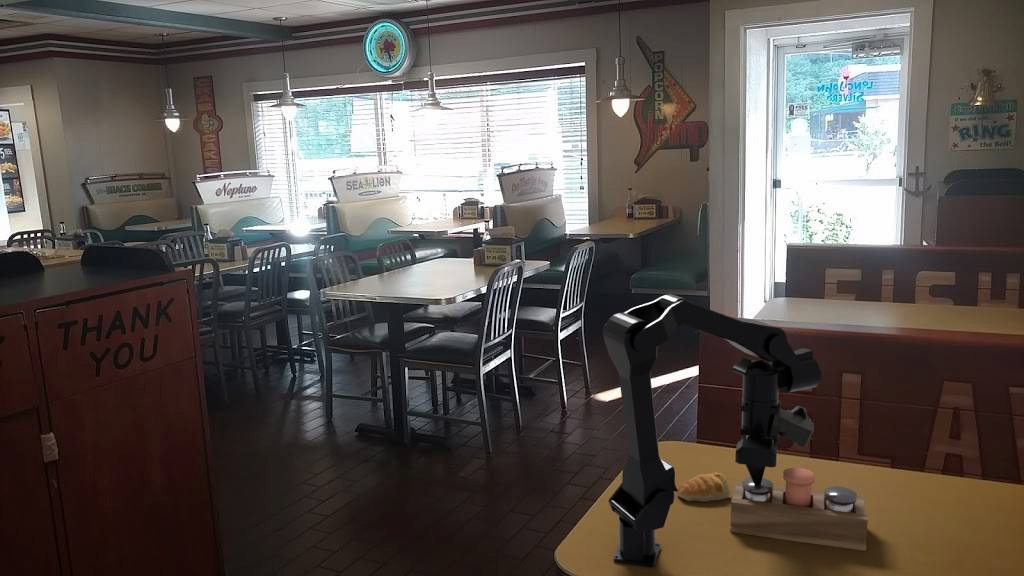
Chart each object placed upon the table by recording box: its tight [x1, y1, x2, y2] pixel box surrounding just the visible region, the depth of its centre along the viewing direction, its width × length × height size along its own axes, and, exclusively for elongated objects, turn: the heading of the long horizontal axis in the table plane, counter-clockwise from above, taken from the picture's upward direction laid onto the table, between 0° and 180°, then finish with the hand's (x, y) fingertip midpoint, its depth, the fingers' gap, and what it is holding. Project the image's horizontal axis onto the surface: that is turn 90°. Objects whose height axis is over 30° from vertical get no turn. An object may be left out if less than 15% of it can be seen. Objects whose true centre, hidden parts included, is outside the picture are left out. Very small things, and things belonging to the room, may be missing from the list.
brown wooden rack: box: [729, 481, 868, 552], centre depth 134 cm, size 9×21×5 cm, turn 70°
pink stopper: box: [782, 467, 816, 508], centre depth 133 cm, size 5×5×6 cm
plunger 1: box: [742, 476, 774, 503], centre depth 136 cm, size 5×5×6 cm
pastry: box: [676, 471, 731, 503], centre depth 147 cm, size 9×7×4 cm
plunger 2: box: [823, 485, 858, 513], centre depth 131 cm, size 5×5×6 cm
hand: (757, 483), depth 135 cm, fingers closed, pressing on plunger 1
